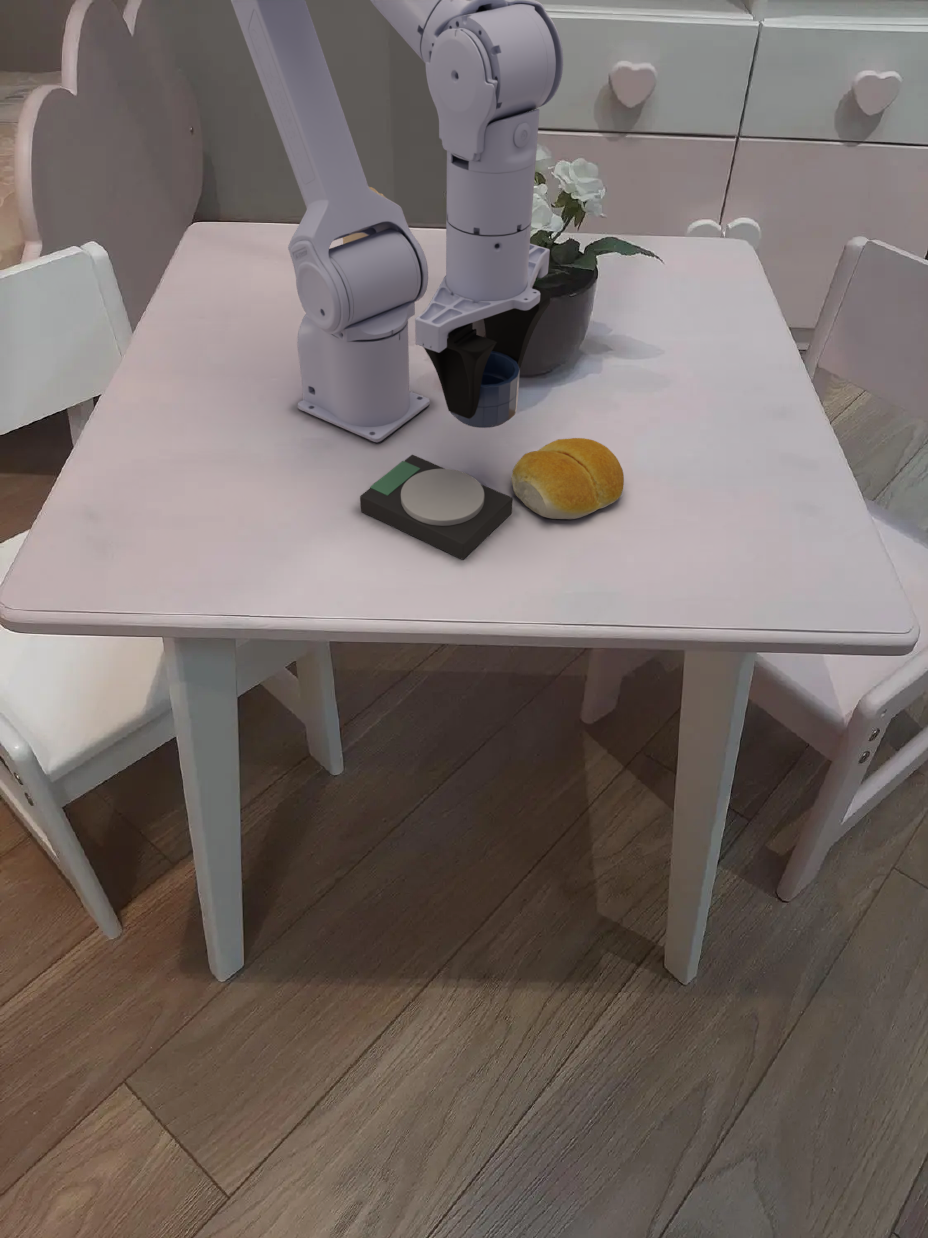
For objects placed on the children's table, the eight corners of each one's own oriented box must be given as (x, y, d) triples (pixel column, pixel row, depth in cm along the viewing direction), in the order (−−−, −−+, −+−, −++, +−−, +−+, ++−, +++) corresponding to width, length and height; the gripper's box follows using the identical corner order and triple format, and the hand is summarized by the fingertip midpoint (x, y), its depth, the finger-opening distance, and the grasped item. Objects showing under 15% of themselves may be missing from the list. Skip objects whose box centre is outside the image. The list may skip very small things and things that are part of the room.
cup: (435, 415, 73) (435, 372, 70) (472, 385, 76) (474, 343, 73) (492, 438, 71) (495, 394, 68) (528, 406, 74) (532, 363, 71)
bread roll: (640, 495, 78) (648, 455, 75) (558, 536, 74) (563, 495, 71) (574, 447, 82) (579, 408, 79) (493, 483, 78) (496, 443, 75)
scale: (360, 511, 75) (359, 489, 74) (412, 469, 79) (412, 447, 78) (462, 560, 72) (463, 538, 70) (511, 513, 76) (513, 491, 74)
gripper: (480, 274, 57) (473, 458, 67) (593, 198, 65) (573, 371, 75) (387, 244, 60) (394, 425, 69) (507, 175, 68) (498, 345, 78)
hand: (482, 395), depth 72 cm, fingers closed on cup, 5 cm apart
